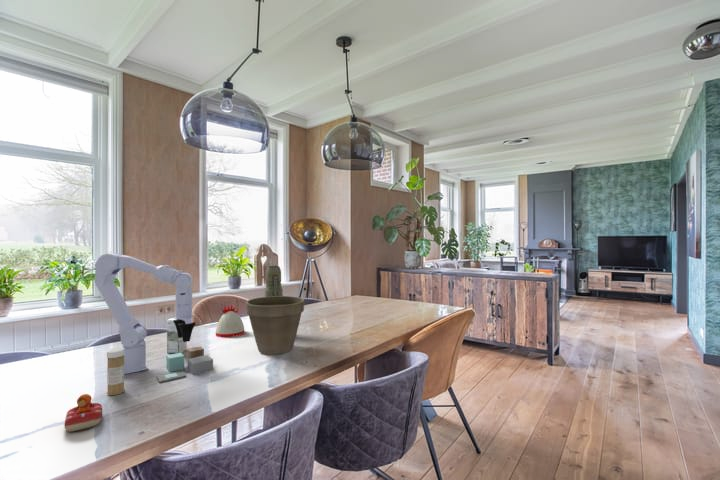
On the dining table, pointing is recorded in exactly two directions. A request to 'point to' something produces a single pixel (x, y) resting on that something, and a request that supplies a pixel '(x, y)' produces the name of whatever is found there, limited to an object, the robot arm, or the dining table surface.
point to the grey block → (200, 364)
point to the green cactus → (273, 282)
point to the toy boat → (83, 414)
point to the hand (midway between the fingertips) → (184, 339)
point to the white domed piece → (229, 324)
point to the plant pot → (275, 322)
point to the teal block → (175, 362)
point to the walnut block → (195, 352)
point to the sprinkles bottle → (115, 371)
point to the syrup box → (174, 339)
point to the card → (171, 376)
